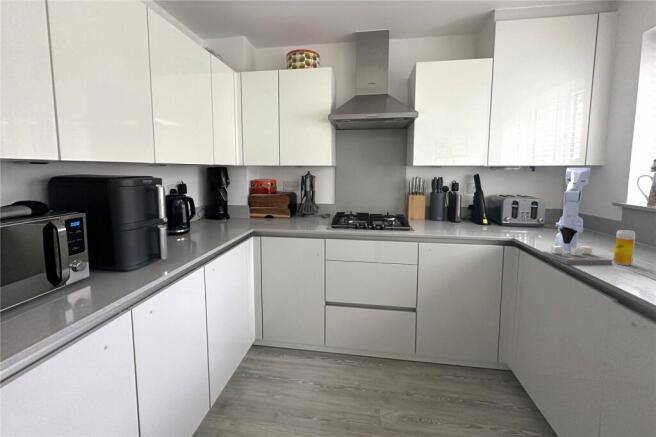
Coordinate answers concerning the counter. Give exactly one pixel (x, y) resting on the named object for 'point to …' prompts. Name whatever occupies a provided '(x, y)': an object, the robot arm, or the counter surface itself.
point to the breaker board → (577, 258)
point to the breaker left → (556, 249)
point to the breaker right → (586, 249)
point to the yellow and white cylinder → (624, 247)
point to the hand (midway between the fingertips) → (566, 243)
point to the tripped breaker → (576, 251)
